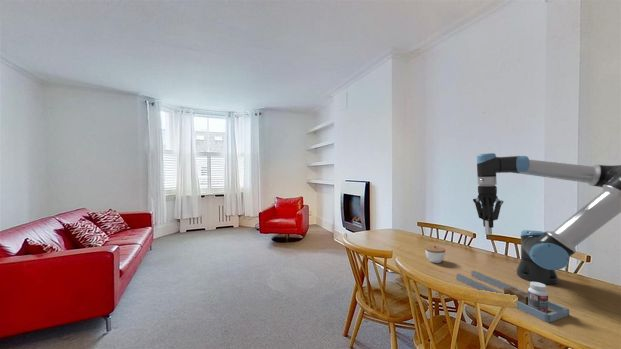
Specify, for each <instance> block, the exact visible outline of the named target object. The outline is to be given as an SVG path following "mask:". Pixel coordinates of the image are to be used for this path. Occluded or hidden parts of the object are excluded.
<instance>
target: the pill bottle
mask: <svg viewBox="0 0 621 349" xmlns="http://www.w3.org/2000/svg"><path fill="white" fill-rule="evenodd" d="M527 292H528V306H530V307H532V308H535V309H537V310H539V311H541V312H544V313H546V314H548V313H549V312H548V311H549V308H548V301H549V292H547V284H542V283H539V282H532V281H529V287H528V289H527Z"/></svg>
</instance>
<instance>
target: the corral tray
mask: <svg viewBox="0 0 621 349" xmlns="http://www.w3.org/2000/svg"><path fill="white" fill-rule="evenodd" d="M516 288H517V289H518V290H520V291H523V292H525V293H528V291H525V290H523V289H521V288H518V287H516ZM515 308H516V309H518V310H520V311H522V312H525V313H526V314H529V315H530V316H532V315H533V317H534V318H536V319H539V320H541V321H544V322H546V323H547V324H548V323H553V322H555V321H558V320H561V319H563V317H564V318H567V317H569V316H570V309H569V308H567V307H565V306H563V305H560V304H557V303H555V302H553V301H550V300H548V310H549V309H550V310H551V309H552V310H551V311H552V312H551V311H550V312H547V313H544V312H541V311H539V310H537V309H535V308H532V307H530V306H528V305H526V304H523V303H521V302H519V301H517V307H515ZM566 316H567V317H566ZM560 318H561V319H560ZM557 319H558V320H557ZM552 321H553V322H552Z"/></svg>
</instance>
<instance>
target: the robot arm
mask: <svg viewBox="0 0 621 349" xmlns="http://www.w3.org/2000/svg"><path fill="white" fill-rule="evenodd" d="M476 170H477V171H476V173H477V174H476V175H477V176H476V177H477V185H478V186H477V193H478V195H477V197H476V198H473V199H472V201H473V204H474V205H475V210H476V212H477V216H478V218H479V219H481V220H482V221H483V224H482V225H483V227H484V234H485V235H487V236H488V235H492V234H493V228H494V221H498V219H499V216H500V212H501V208H502V205H503V204H504V200H500V199H499V198H498V195H497V194H498V189H497V188H498V187H497V186H496V185H497V173H498V174H500V173H502V174H504V173H505V174H508V173H512V174H519V175H520V174H522V175H527V176H532V177H533V176H534V177H541V178H549V179H557V180H565V181H571V182H580V183H586V184H588V185H589V186H592V187H598V188H602V189H603V190H602V191H601V192H600V193H599V194H598V195H597V196H595V197H594V198H593V199H591V200H589V202H588V203H586V204H585V205H584V206H583V207H581V208H580V209H579V210H578V211H577V212H575V213H574V214H572V215H571V216H570V217H569V218H567V220H565V221H564V222H563V223H562V224H560V225H559V226H558V227H557V228H555V229H554V230H553V231H552V230H551V231H550V230H548V231H540V230H528V229H524V230H521V231H520V232H521V233H520V261H519V263H518V265H517V268H516V275H517V276H518V277H520V278H522V279H523V280H527V281H529V282H539V283H542V284H545V285H556V284H558V283H559V277H558V274H557V270H558V271H559V270H561V269H564V268H566V267H567V266H568V265H569V262H570V257H571V256H573V255H574V254H575V253H577V251H576V250H577V249H576V248H577V246H578V245H580V243H582V242H584V240H586V239H588V238H589V237H590V236H591V235H593V234H594V233H595V232H597V231H598V230H599V229H600V228H603V227H604V226H605V225H606V224H607V223H609V222H611V220H613V219H614V218H615V217H616V216H618V215H620V214H621V164H620V165H619V164H618V165H615V164H614V165H605V164H602V165H601V164H594V165H592V166H591V165H582V164H573V163H566V162H555V161H554V162H553V161H545V160H536V159H529V157H528V156H526V155H513V156H512V155H510V156H500V157H499V156H497V154H496V153H495V152H494V153H492V152H491V153H479V154H478V155H476Z"/></svg>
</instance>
